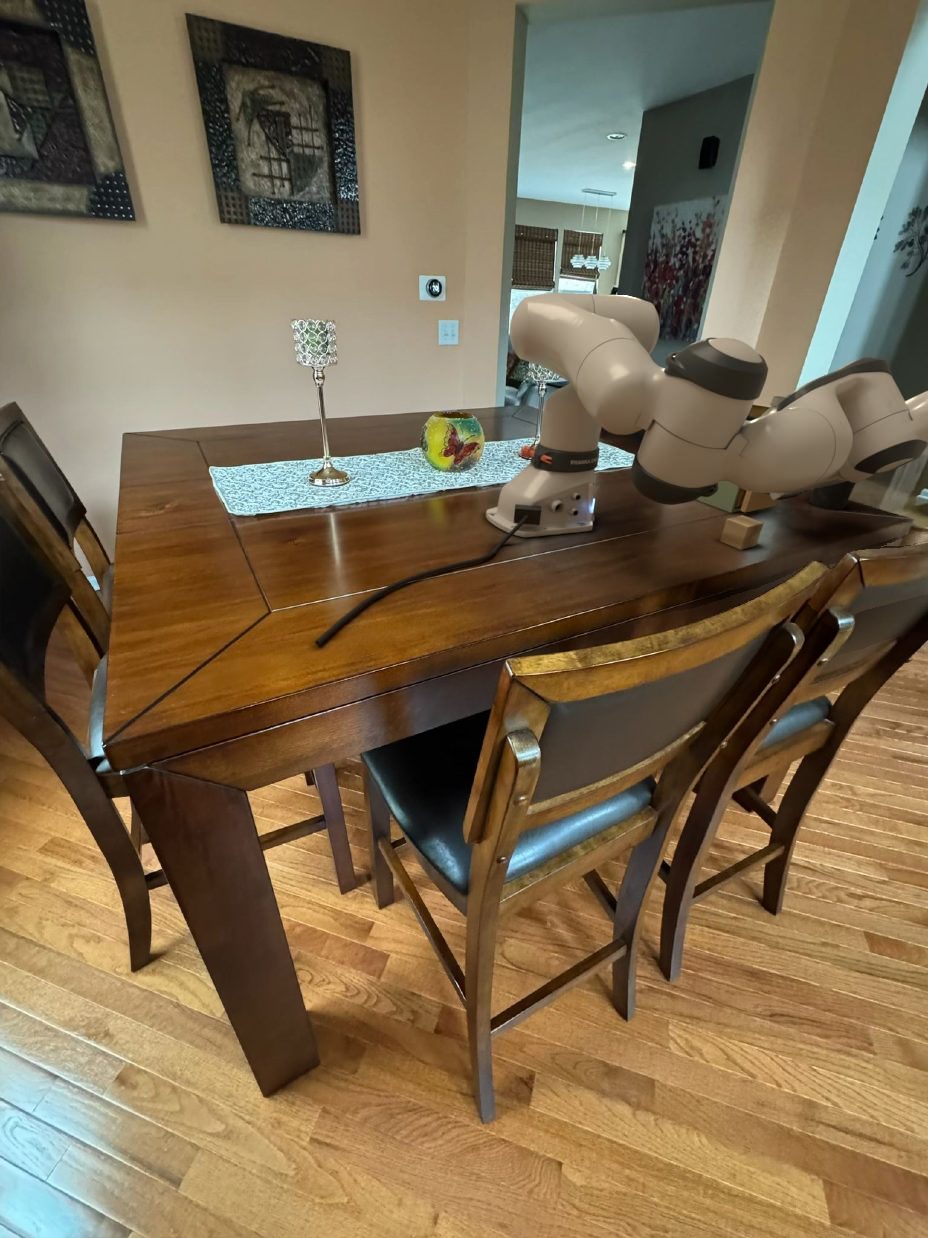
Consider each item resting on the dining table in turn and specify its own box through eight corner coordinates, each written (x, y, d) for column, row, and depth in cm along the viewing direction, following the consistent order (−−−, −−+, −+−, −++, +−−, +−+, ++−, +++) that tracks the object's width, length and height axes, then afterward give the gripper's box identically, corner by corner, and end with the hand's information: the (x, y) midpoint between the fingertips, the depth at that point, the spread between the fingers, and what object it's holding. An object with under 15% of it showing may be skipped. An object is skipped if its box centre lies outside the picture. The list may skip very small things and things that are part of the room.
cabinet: (766, 504, 121) (781, 462, 116) (731, 512, 115) (744, 468, 110) (712, 486, 132) (724, 446, 127) (677, 492, 126) (687, 451, 121)
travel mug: (809, 506, 121) (846, 413, 110) (805, 496, 127) (839, 407, 117) (848, 512, 119) (889, 417, 108) (842, 501, 125) (879, 411, 114)
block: (740, 550, 98) (748, 526, 96) (719, 541, 101) (726, 518, 99) (755, 545, 100) (763, 523, 98) (734, 537, 103) (742, 515, 101)
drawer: (798, 512, 115) (812, 476, 111) (766, 520, 110) (779, 482, 105) (725, 487, 128) (735, 454, 124) (693, 493, 123) (702, 459, 119)
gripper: (831, 478, 93) (761, 514, 105) (891, 466, 102) (821, 500, 114) (815, 446, 94) (748, 485, 106) (876, 437, 103) (808, 473, 115)
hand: (786, 493), depth 110 cm, fingers open, 8 cm apart
